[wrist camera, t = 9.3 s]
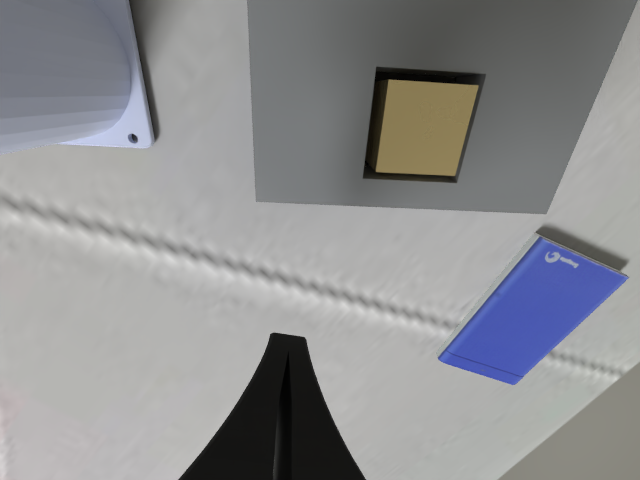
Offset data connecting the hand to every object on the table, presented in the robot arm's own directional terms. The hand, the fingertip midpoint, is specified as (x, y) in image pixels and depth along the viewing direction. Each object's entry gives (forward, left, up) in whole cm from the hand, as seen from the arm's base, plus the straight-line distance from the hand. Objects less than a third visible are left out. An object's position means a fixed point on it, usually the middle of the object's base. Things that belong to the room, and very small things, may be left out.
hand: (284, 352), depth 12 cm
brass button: (+6, +8, -9) cm, 13 cm away
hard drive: (+18, -6, -10) cm, 22 cm away
